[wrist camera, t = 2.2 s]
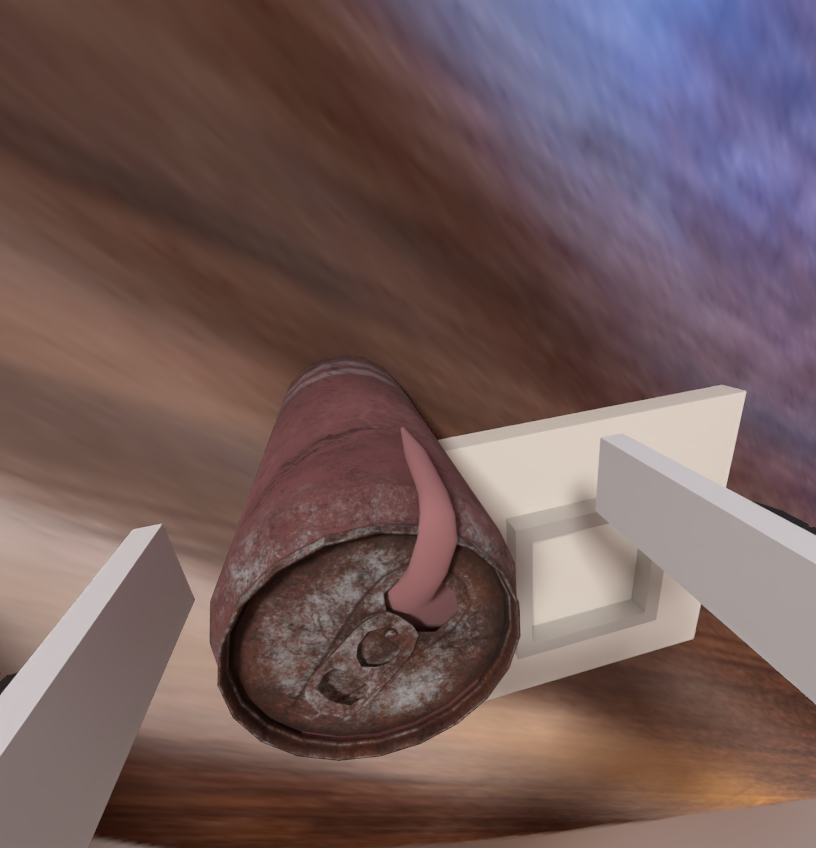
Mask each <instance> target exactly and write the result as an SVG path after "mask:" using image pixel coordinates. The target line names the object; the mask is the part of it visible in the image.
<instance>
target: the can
mask: <svg viewBox="0 0 816 848" xmlns="http://www.w3.org/2000/svg"><path fill="white" fill-rule="evenodd" d="M520 636H521V633H520V606H519V601H518V599H517V592H516V567H515V562H514V560H513V557H512V555H511V553H510V551H509V549H508V547H507V545H506V543H505V541H504V539H503V536H502V534H501V532H500V530H499V529H498V527H497V526H496V524H495V523H494V522H493V520H492V519H491V517H490V516H489V514H488V513H487V511H486V510H485V509H484V507H483V506H482V504H481V503H480V501H479V500H478V498H477V497H476V495H475V494H474V493H473V491H472V490H471V488H470V487H469V485H468V484H467V482H466V481H465V480H464V478H463V477H462V475H461V474H460V472H459V471H458V469H457V468H456V466H455V465H454V464H453V462H452V461H451V459H450V458H449V456H448V455H447V453H446V452H445V451H444V449H443V448H442V446H441V445H440V443H439V442H438V440H437V439H436V437H435V436H434V435H433V433H432V432H431V430H430V429H429V427H428V426H427V424H426V423H425V422H424V420H423V419H422V417H421V416H420V414H419V413H418V411H417V410H416V408H415V407H414V406H413V404H412V403H411V401H410V400H409V398H408V397H407V395H406V394H405V393H404V391H403V390H402V388H401V387H400V385H399V384H398V382H397V381H396V380H395V379H394V378H393V377H392V376H391V375H390V374H389V373H388V372H387V371H386V370H385V369H384V368H383V367H381V366H379V365H377V364H375V363H373V362H371V361H369V360H367V359H365V358H359V357H352V356H345V355H343V356H337V357H331V358H326V359H322V360H320V361H318V362H317V363H315V364H313V365H311V366H309V367H307V368H305V369H304V370H303V371H302V372H301V373H300V374H299V376H298V377H297V378H296V379H295V380H294V381H293V382H292V383H291V385H290V387H289V389H288V391H287V394H286V396H285V398H284V400H283V403H282V406H281V409H280V411H279V414H278V417H277V420H276V422H275V425H274V428H273V431H272V433H271V436H270V439H269V442H268V444H267V447H266V450H265V453H264V455H263V458H262V461H261V464H260V466H259V469H258V472H257V475H256V477H255V480H254V483H253V486H252V488H251V491H250V494H249V497H248V499H247V502H246V505H245V508H244V510H243V513H242V516H241V519H240V521H239V524H238V527H237V530H236V532H235V535H234V538H233V541H232V543H231V546H230V549H229V552H228V554H227V557H226V560H225V563H224V565H223V568H222V571H221V574H220V576H219V579H218V582H217V585H216V587H215V590H214V593H213V596H212V598H211V601H210V645H211V648H212V651H213V654H214V657H215V659H216V662H217V665H218V684H217V685H218V687H219V690H220V692H221V694H222V696H223V698H224V700H225V702H226V704H227V706H228V709H229V711H230V713H231V715H232V717H233V718H234V719H235V720H236V721H237V722H238V723H239V724H241V725H242V726H243V727H244V728H245V729H247V730H248V731H249V732H250V733H251V734H252V735H254V736H255V737H256V738H257V739H258V740H259V741H261V742H263V743H265V744H268V745H270V746H273V747H275V748H278V749H281V750H283V751H286V752H288V753H291V754H293V755H296V756H301V757H310V758H319V759H328V760H337V761H340V760H350V759H359V758H368V757H377V756H383V755H386V754H389V753H392V752H396V751H399V750H402V749H405V748H408V747H412V746H415V745H418V744H421V743H423V742H425V741H427V740H429V739H430V738H432V737H434V736H436V735H438V734H440V733H442V732H443V731H445V730H447V729H449V728H451V727H453V726H454V725H456V724H458V723H459V722H460V721H462V720H463V719H464V718H465V717H466V716H467V715H469V714H470V713H471V712H472V711H473V710H475V709H476V708H477V707H478V706H479V705H480V704H482V703H483V702H484V701H485V700H486V699H487V698H488V697H489V696H490V694H491V693H492V692H493V690H494V689H495V688H496V686H497V685H498V683H499V682H500V681H501V679H502V678H503V677H504V675H505V674H506V672H507V671H508V670H509V668H510V665H511V662H512V659H513V656H514V654H515V651H516V648H517V645H518V642H519V639H520Z"/></svg>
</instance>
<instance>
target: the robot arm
mask: <svg viewBox="0 0 816 848" xmlns="http://www.w3.org/2000/svg"><path fill="white" fill-rule="evenodd" d="M595 511H596V512H597V513H598V514H600V515H601V516H602V517H603V518H604V519H605V520H606V521H608V522H609V523H610V524H611V525H612V526H613V527H614V528H616V529H617V530H618V531H619V532H620V533H621V534H622V535H624V536H625V537H626V538H627V539H628V540H629V541H630V542H632V543H633V544H634V545H635V546H636V547H637V548H638V549H639V550H641V551H642V552H643V553H644V554H645V555H646V556H647V557H649V558H650V559H651V560H652V561H653V562H654V563H655V564H657V565H658V566H659V567H660V568H661V569H662V570H663V571H665V572H666V573H667V574H668V575H669V576H670V577H671V578H673V579H674V580H675V581H676V582H677V583H678V584H679V585H681V586H682V587H683V588H684V589H685V590H686V591H687V592H688V593H690V594H691V595H692V596H693V597H694V598H695V599H696V600H698V601H699V602H700V603H701V604H702V605H703V606H704V607H706V608H707V609H708V610H709V611H710V612H711V613H712V614H714V615H715V616H716V617H717V618H718V619H719V620H720V621H722V622H723V623H724V624H725V625H726V626H727V627H728V628H729V629H731V630H732V631H733V632H734V633H735V634H736V635H737V636H739V637H740V638H741V639H742V640H743V641H744V642H745V643H747V644H748V645H749V646H750V647H751V648H752V649H753V650H755V651H756V652H757V653H758V654H759V655H760V656H761V657H763V658H764V659H765V660H766V661H767V662H768V663H769V664H771V665H772V666H773V667H774V668H775V669H776V670H777V671H778V672H780V673H781V674H782V675H783V676H784V677H785V678H786V679H788V680H789V681H790V682H791V683H792V684H793V685H794V686H796V687H797V688H798V689H799V690H800V691H801V692H802V693H804V694H805V695H806V696H807V697H808V698H809V699H810V700H812V701H813V702H814V703H815V704H816V528H815V527H812V528H810V527H809V525H808V524H807V523H805V522H803V521H801V520H799V519H797V518H795V517H793V516H791V515H789V514H787V513H785V512H784V511H781V510H778V509H775V508H772V507H769V506H766V505H763V504H760V503H757V502H754V501H750V500H748V499H746V498H744V497H742V496H740V495H738V494H737V493H735V492H733V491H731V490H729V489H727V488H725V487H723V486H721V485H719V484H718V483H716V482H714V481H712V480H710V479H708V478H706V477H704V476H702V475H701V474H699V473H697V472H695V471H693V470H691V469H689V468H687V467H685V466H684V465H682V464H680V463H678V462H676V461H674V460H672V459H670V458H668V457H666V456H665V455H663V454H661V453H659V452H657V451H655V450H653V449H651V448H649V447H648V446H646V445H644V444H642V443H640V442H638V441H636V440H634V439H632V438H631V437H629V436H627V435H625V434H623V433H621V434H616V435H611V436H606V437H601V438H600V451H599V465H598V480H597V494H596V508H595ZM194 601H195V599H194V596H193V594H192V592H191V589H190V587H189V585H188V582H187V580H186V578H185V575H184V573H183V570H182V568H181V566H180V563H179V561H178V559H177V556H176V554H175V552H174V549H173V547H172V545H171V542H170V540H169V537H168V535H167V533H166V530H165V528H164V526H163V524H158V525H153V526H148V527H143V528H138V529H133V530H132V531H131V532H130V534H129V535H128V536H127V537H126V539H125V540H124V541H123V542H122V544H121V545H120V546H119V547H118V549H117V550H116V551H115V552H114V554H113V555H112V556H111V557H110V559H109V560H108V561H107V562H106V564H105V565H104V566H103V567H102V569H101V570H100V571H99V572H98V574H97V575H96V576H95V577H94V579H93V580H92V581H91V582H90V584H89V585H88V586H87V587H86V589H85V590H84V591H83V592H82V594H81V595H80V596H79V597H78V599H77V600H76V601H75V602H74V604H73V605H72V606H71V607H70V609H69V610H68V611H67V612H66V614H65V615H64V616H63V617H62V619H61V620H60V621H59V622H58V624H57V625H56V626H55V627H54V629H53V630H52V631H51V632H50V634H49V635H48V636H47V637H46V639H45V640H44V641H43V642H42V643H41V645H40V646H39V647H38V648H37V650H36V651H35V652H34V653H33V655H32V656H31V657H30V658H29V660H28V661H27V662H26V663H25V665H24V666H23V667H22V668H21V670H20V671H19V672H18V673H16V674H12V675H7V676H6V677H5V678H4V679H3V680H1V681H0V848H88V847H89V844H90V842H91V840H92V837H93V835H94V833H95V830H96V828H97V826H98V823H99V821H100V819H101V817H102V814H103V812H104V810H105V807H106V805H107V803H108V800H109V798H110V796H111V793H112V791H113V789H114V786H115V784H116V782H117V779H118V777H119V775H120V772H121V770H122V768H123V765H124V763H125V761H126V758H127V756H128V754H129V751H130V749H131V747H132V745H133V742H134V740H135V738H136V735H137V733H138V731H139V728H140V726H141V724H142V721H143V719H144V717H145V714H146V712H147V710H148V707H149V705H150V703H151V700H152V698H153V696H154V693H155V691H156V689H157V686H158V684H159V682H160V679H161V677H162V675H163V673H164V670H165V668H166V666H167V663H168V661H169V659H170V656H171V654H172V652H173V649H174V647H175V645H176V642H177V640H178V638H179V635H180V633H181V631H182V628H183V626H184V624H185V621H186V619H187V617H188V614H189V612H190V610H191V607H192V605H193V603H194Z"/></svg>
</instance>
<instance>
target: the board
mask: <svg viewBox="0 0 816 848" xmlns="http://www.w3.org/2000/svg"><path fill="white" fill-rule="evenodd" d="M745 396H746V391H744V390H740V389H736V388H733V387H729V386H725V385H718V386H713V387H708V388H703V389H698V390H692V391H687V392H682V393H677V394H672V395H667V396H661V397H656V398H651V399H646V400H641V401H636V402H631V403H625V404H620V405H615V406H610V407H605V408H600V409H595V410H589V411H584V412H579V413H574V414H569V415H564V416H559V417H553V418H548V419H543V420H538V421H533V422H528V423H522V424H517V425H512V426H507V427H502V428H497V429H492V430H486V431H481V432H476V433H471V434H466V435H461V436H456V437H450V438H445V439H440V440H438V442H439V443H440V445H441V446H442V448H443V449H444V451H445V452H446V453H447V455H448V456H449V458H450V459H451V461H452V462H453V464H454V465H455V466H456V468H457V469H458V471H459V472H460V474H461V475H462V477H463V478H464V480H465V481H466V482H467V484H468V485H469V487H470V488H471V490H472V491H473V493H474V494H475V495H476V497H477V498H478V500H479V501H480V503H481V504H482V506H483V507H484V509H485V510H486V511H487V513H488V514H489V516H490V517H491V519H492V520H493V522H494V523H495V524H496V526H497V527H498V529H499V530H500V532H501V534H502V536H503V539H504V541H505V543H506V545H507V547H508V549H509V551H510V553H511V555H512V557H513V560H514V562H515V567H516V592H517V599H518V601H519V606H520V633H521V636H520V639H519V642H518V645H517V648H516V651H515V654H514V656H513V659H512V662H511V665H510V668H509V670H508V671H507V672H506V674H505V675H504V677H503V678H502V679H501V681H500V682H499V683H498V685H497V686H496V688H495V689H494V690H493V692H492V693H491V694H490V696H489V697H488V698H487V699H486V700H485V701H487V700H490V699H493V698H497V697H500V696H503V695H507V694H510V693H513V692H517V691H520V690H523V689H527V688H530V687H533V686H537V685H540V684H544V683H547V682H550V681H554V680H557V679H560V678H564V677H567V676H570V675H574V674H577V673H580V672H584V671H587V670H590V669H594V668H597V667H600V666H604V665H607V664H611V663H614V662H617V661H621V660H624V659H627V658H631V657H634V656H637V655H641V654H644V653H647V652H651V651H654V650H657V649H661V648H664V647H667V646H671V645H674V644H678V643H681V642H684V641H688V640H691V639H694V634H695V630H696V625H697V620H698V616H699V611H700V606H701V603H700V602H699V601H698V600H696V599H695V598H694V597H693V596H692V595H691V594H690V593H688V592H687V591H686V590H685V589H684V588H683V587H682V586H681V585H679V584H678V583H677V582H676V581H675V580H674V579H673V578H671V577H670V576H669V575H668V574H667V573H666V572H665V571H663V570H662V569H661V568H660V567H659V566H658V565H657V564H655V563H654V562H653V561H652V560H651V559H650V558H649V557H647V556H646V555H645V554H644V553H643V552H642V551H641V550H639V549H638V548H637V547H636V546H635V545H634V544H633V543H632V542H630V541H629V540H628V539H627V538H626V537H625V536H624V535H622V534H621V533H620V532H619V531H618V530H617V529H616V528H614V527H613V526H612V525H611V524H610V523H609V522H608V521H606V520H605V519H604V518H603V517H602V516H601V515H600V514H598V513H597V512H596V511H595V508H596V494H597V480H598V465H599V451H600V438H601V437H606V436H611V435H616V434H621V433H623V434H625V435H627V436H629V437H631V438H632V439H634V440H636V441H638V442H640V443H642V444H644V445H646V446H648V447H649V448H651V449H653V450H655V451H657V452H659V453H661V454H663V455H665V456H666V457H668V458H670V459H672V460H674V461H676V462H678V463H680V464H682V465H684V466H685V467H687V468H689V469H691V470H693V471H695V472H697V473H699V474H701V475H702V476H704V477H706V478H708V479H710V480H712V481H714V482H716V483H718V484H719V485H721V486H723V487H725V488H726V485H727V480H728V475H729V471H730V466H731V461H732V457H733V452H734V447H735V443H736V438H737V433H738V429H739V424H740V419H741V415H742V410H743V405H744V400H745Z"/></svg>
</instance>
